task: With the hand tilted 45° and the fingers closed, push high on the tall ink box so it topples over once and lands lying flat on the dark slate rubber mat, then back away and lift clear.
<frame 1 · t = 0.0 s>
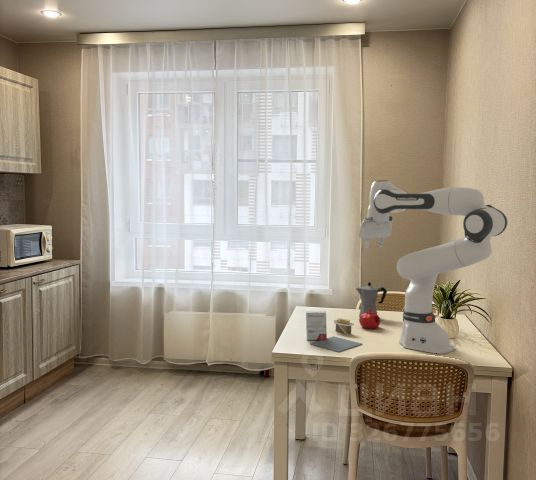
hand: (373, 247, 245), 39 cm above the table, tool pointing down, fingers open, 8 cm apart
mat: (336, 344, 229), on the table
coffeepot: (370, 317, 278), on the table
pomegranate: (369, 328, 258), on the table
ink box: (316, 339, 237), on the table, touching mat
rectangular planter: (342, 334, 248), on the table
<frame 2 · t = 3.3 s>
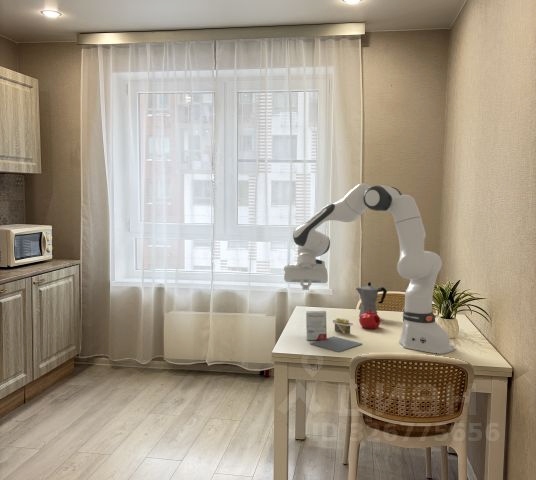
hand: (305, 289, 252), 18 cm above the table, tool tilted 45°, fingers closed
nothing on the table moved.
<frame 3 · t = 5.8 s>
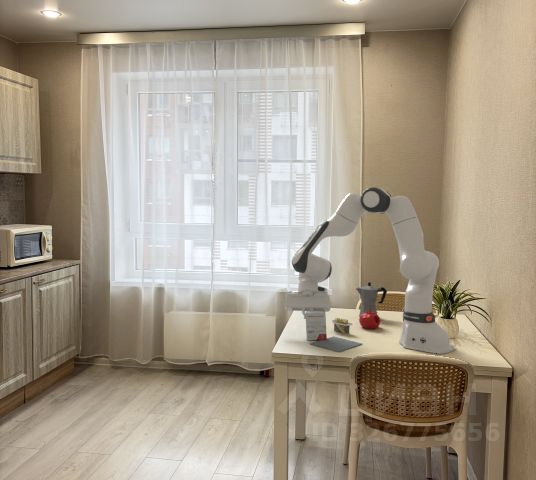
hand: (307, 318, 239), 8 cm above the table, tool tilted 45°, fingers closed
ink box: (316, 339, 237), on the table, touching gripper, mat
everything else where it was.
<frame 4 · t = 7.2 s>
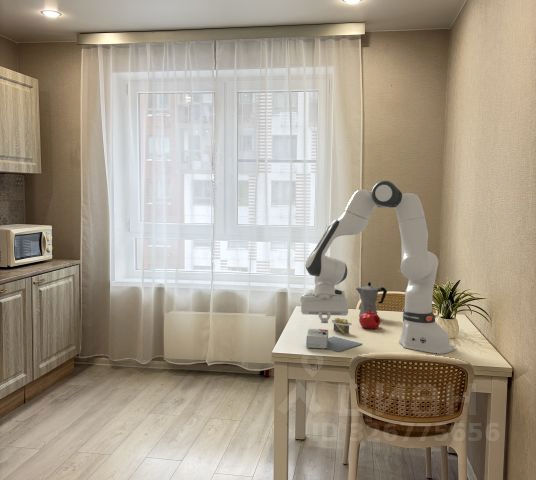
hand: (324, 322, 233), 8 cm above the table, tool tilted 45°, fingers closed
ink box: (318, 334, 234), point 3 cm above the table, touching mat
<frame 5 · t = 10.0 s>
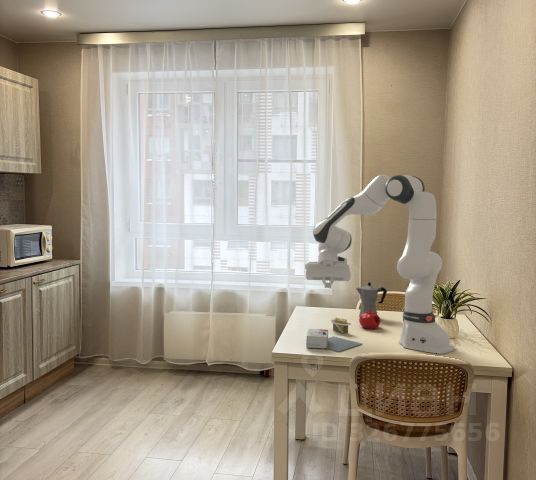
hand: (327, 287, 245), 21 cm above the table, tool tilted 45°, fingers closed
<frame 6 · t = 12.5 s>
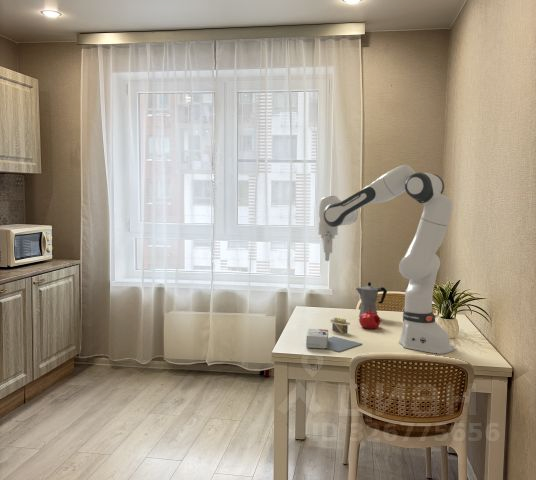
hand: (327, 260, 257), 31 cm above the table, tool pointing down, fingers closed
at the end: ink box tilted 90°; ink box touching mat; ink box inside the target area (6.3 cm from its centre), point 2.8 cm above the table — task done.
